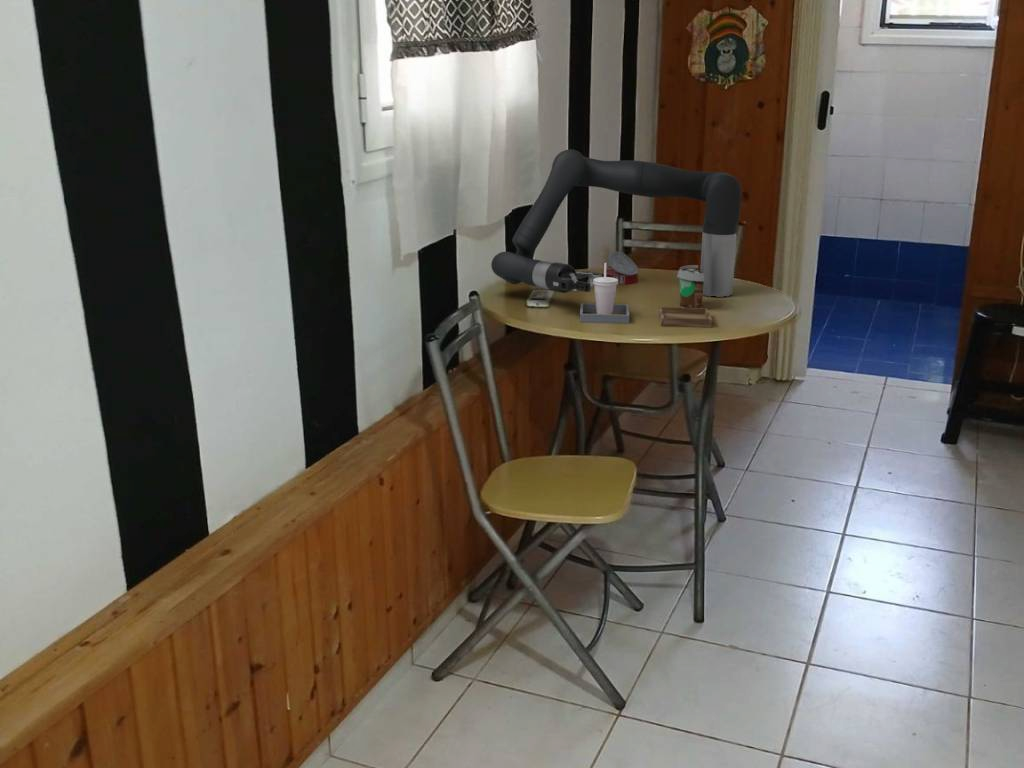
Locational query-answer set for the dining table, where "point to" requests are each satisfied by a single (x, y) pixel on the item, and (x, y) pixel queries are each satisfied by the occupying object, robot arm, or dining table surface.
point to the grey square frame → (604, 317)
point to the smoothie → (605, 293)
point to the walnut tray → (685, 317)
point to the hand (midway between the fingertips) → (600, 285)
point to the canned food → (622, 268)
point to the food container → (691, 286)
